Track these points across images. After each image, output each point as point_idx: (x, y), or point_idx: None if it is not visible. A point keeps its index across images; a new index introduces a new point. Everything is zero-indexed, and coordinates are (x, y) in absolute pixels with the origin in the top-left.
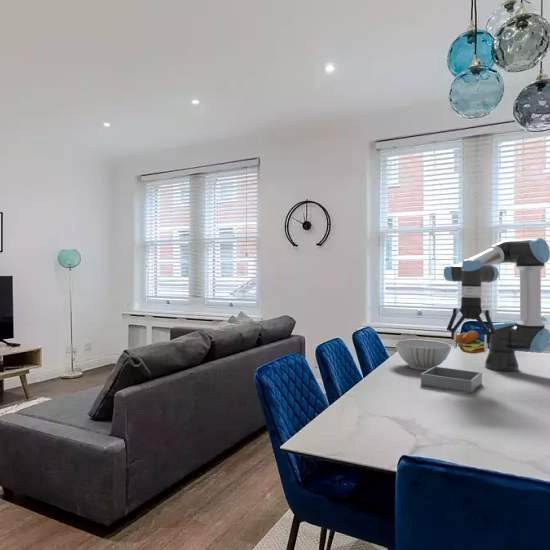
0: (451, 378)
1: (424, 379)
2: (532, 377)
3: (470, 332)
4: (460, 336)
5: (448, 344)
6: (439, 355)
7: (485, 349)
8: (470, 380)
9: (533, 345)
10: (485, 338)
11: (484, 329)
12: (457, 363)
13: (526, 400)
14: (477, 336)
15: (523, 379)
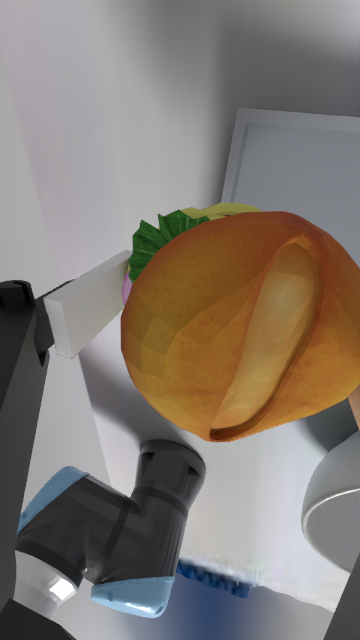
0: (349, 116)
1: None
2: (110, 405)
3: (198, 326)
4: (341, 292)
5: (309, 537)
6: (358, 457)
7: (124, 255)
8: (243, 125)
9: (65, 481)
10: (74, 287)
11: (7, 344)
12: (268, 490)
13: (68, 144)
14: (131, 290)
15: (122, 385)
